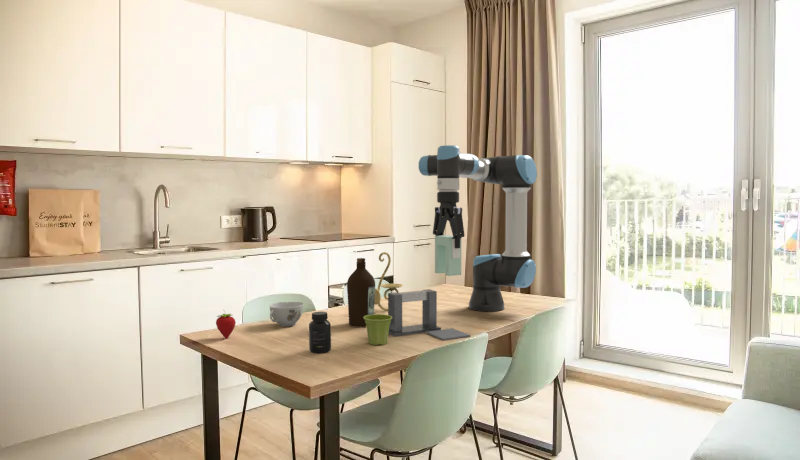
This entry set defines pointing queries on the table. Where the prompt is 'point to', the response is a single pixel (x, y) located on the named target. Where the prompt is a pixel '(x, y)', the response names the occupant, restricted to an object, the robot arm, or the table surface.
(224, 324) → the strawberry
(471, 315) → the table surface
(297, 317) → the teacup
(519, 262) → the robot arm
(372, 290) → the olive oil
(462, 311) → the table surface
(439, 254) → the mint green u-shaped block
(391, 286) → the wall sconce
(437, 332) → the gray rectangular panel
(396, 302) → the stand
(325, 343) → the supplement bottle
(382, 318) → the plant pot
